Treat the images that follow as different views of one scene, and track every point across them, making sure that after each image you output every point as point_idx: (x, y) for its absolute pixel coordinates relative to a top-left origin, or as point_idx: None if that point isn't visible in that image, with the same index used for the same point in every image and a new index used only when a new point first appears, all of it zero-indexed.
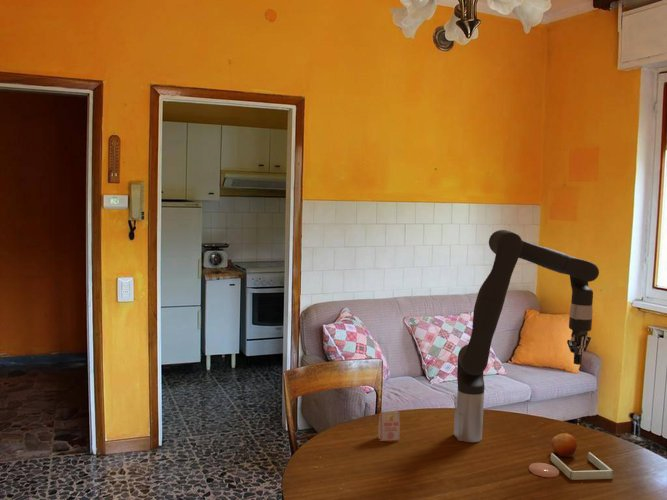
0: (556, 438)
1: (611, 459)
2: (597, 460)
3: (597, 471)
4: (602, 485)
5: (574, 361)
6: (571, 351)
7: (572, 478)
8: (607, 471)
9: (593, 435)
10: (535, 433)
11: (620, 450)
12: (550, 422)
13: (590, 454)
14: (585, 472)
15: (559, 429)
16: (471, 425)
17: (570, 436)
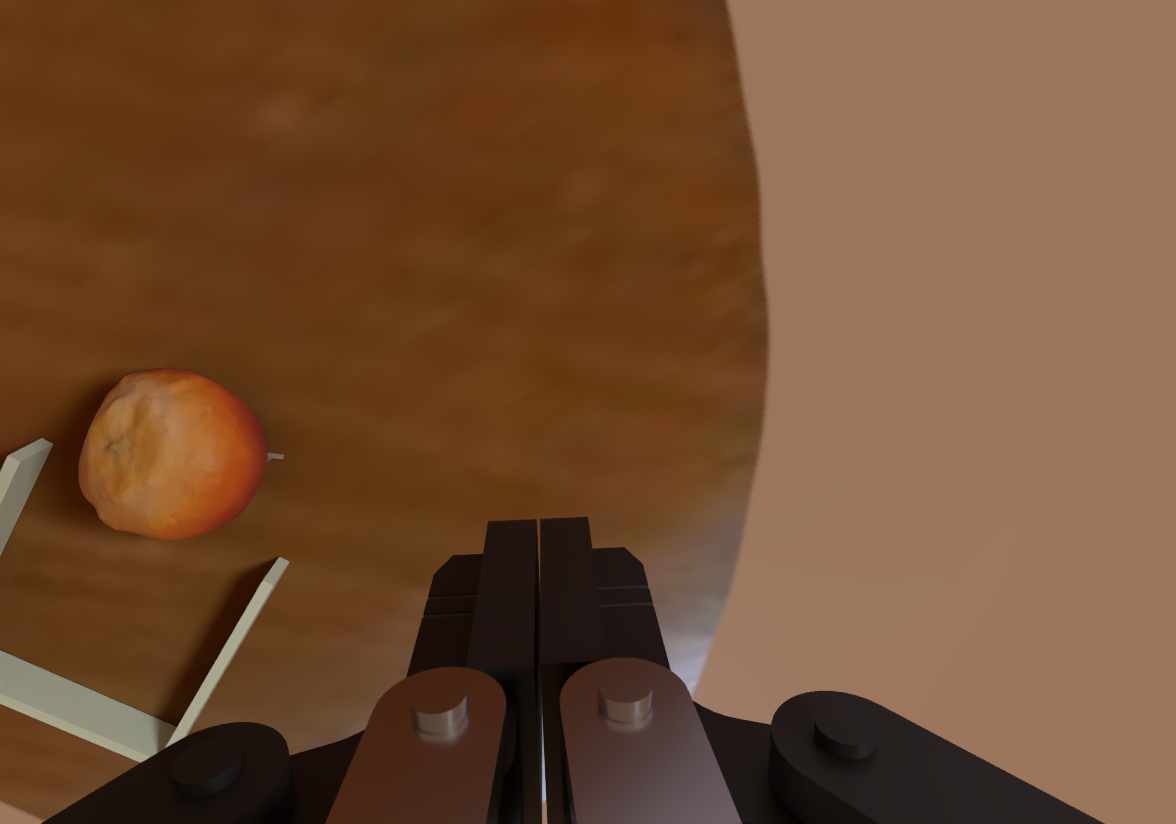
0: (94, 438)
1: (410, 625)
2: (218, 658)
3: (74, 732)
4: (64, 748)
5: (440, 588)
6: (136, 808)
7: None
8: (132, 757)
9: (678, 381)
10: (339, 95)
11: None
12: (659, 29)
13: (252, 598)
14: (3, 700)
15: (580, 167)
16: None
17: (150, 526)
